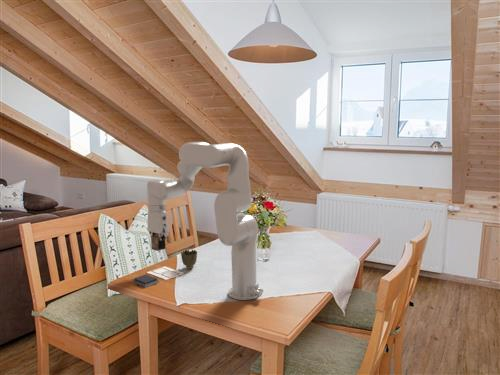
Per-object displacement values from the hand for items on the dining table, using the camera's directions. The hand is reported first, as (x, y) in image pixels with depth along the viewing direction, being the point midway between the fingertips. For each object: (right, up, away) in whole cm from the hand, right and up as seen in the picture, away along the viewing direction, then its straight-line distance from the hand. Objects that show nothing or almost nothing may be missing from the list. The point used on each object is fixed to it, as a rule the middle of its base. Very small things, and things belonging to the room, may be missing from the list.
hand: (158, 246), depth 190 cm
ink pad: (-3, -14, -11) cm, 18 cm away
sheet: (+3, -12, -1) cm, 12 cm away
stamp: (0, -1, 0) cm, 1 cm away
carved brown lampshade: (+13, -11, +5) cm, 18 cm away
